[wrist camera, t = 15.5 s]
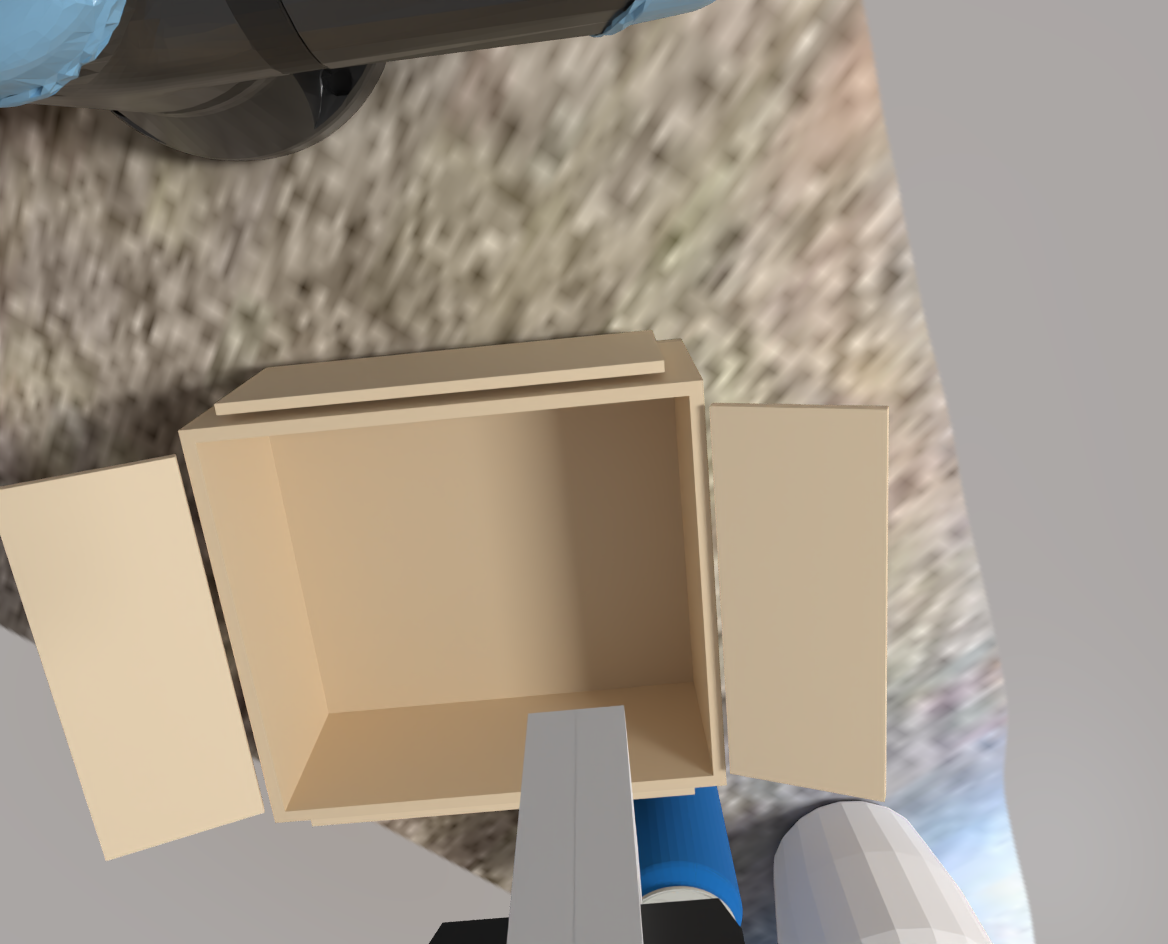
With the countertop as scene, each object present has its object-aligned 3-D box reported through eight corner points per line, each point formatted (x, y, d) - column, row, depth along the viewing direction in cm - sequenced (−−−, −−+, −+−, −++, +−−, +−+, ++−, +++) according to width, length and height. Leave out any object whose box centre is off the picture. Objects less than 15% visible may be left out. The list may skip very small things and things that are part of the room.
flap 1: (175, 453, 40) (-11, 488, 38) (175, 457, 39) (-14, 492, 37) (264, 804, 46) (107, 853, 44) (264, 812, 45) (106, 861, 43)
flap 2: (732, 767, 45) (885, 794, 42) (730, 773, 44) (884, 801, 42) (712, 402, 39) (888, 406, 36) (709, 406, 39) (887, 409, 36)
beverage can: (655, 839, 57) (674, 1010, 46) (581, 775, 56) (581, 935, 44) (735, 777, 56) (775, 937, 45) (662, 709, 54) (683, 858, 43)
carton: (246, 364, 48) (173, 411, 39) (679, 321, 47) (701, 360, 39) (325, 730, 55) (278, 837, 46) (704, 697, 54) (727, 799, 46)
